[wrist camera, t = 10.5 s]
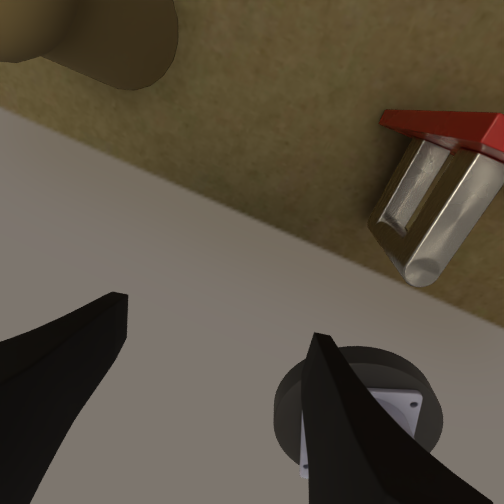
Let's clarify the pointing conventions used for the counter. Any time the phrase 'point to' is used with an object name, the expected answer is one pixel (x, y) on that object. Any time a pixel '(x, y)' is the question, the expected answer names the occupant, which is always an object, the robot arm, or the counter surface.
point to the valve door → (437, 187)
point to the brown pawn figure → (93, 37)
